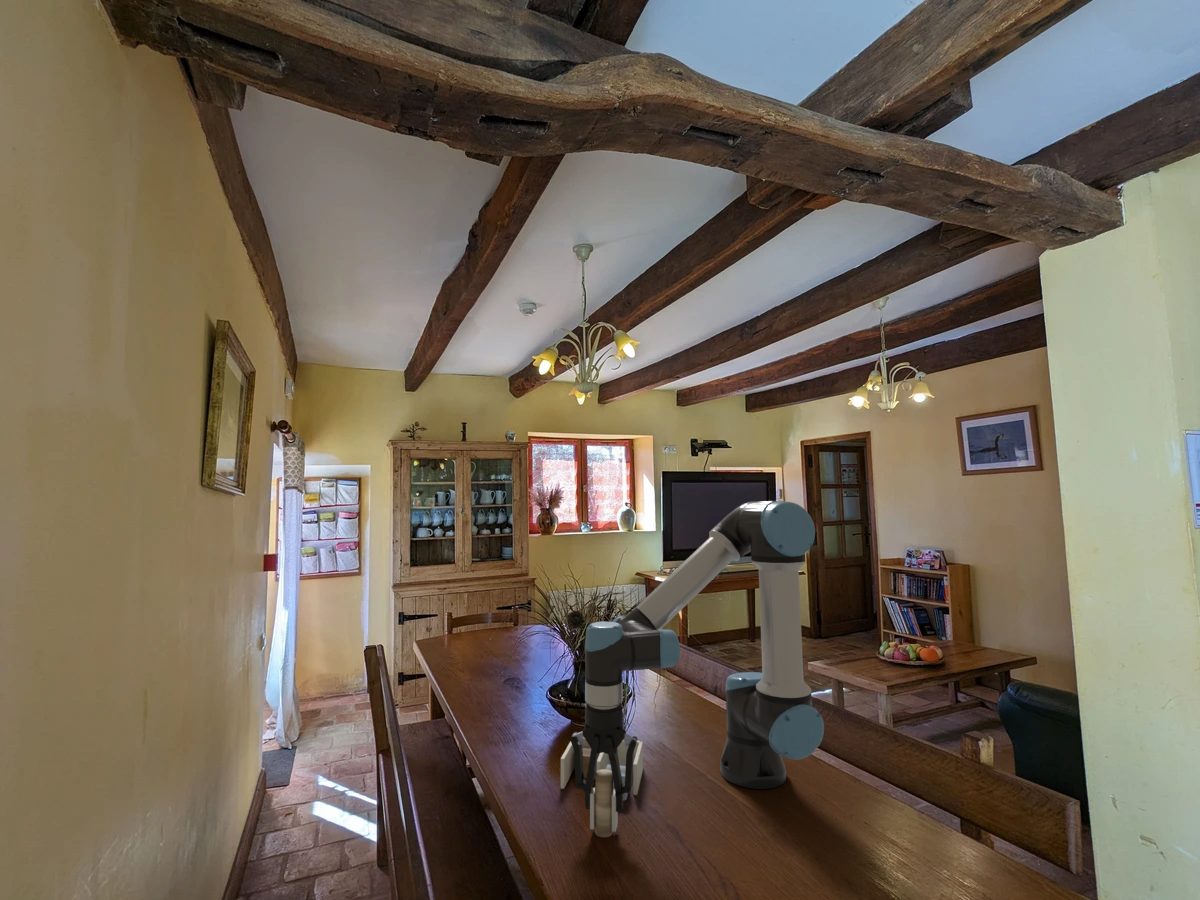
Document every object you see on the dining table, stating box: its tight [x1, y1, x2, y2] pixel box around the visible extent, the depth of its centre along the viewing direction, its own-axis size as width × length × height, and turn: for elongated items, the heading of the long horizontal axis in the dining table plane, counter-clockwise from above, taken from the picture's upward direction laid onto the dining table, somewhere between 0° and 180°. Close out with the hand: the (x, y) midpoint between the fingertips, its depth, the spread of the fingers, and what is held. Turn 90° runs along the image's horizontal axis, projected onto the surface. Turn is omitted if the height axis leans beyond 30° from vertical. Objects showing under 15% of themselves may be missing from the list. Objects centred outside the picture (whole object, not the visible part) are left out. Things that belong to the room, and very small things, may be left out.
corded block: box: [594, 764, 629, 838], centre depth 122 cm, size 20×5×11 cm, turn 169°
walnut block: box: [582, 747, 600, 780], centre depth 139 cm, size 5×5×5 cm
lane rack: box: [560, 738, 644, 796], centre depth 136 cm, size 13×17×6 cm
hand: (604, 826), depth 114 cm, fingers closed on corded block, 4 cm apart
